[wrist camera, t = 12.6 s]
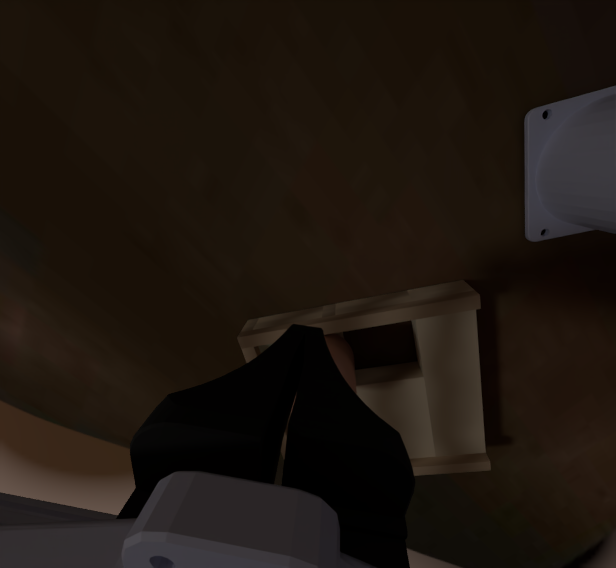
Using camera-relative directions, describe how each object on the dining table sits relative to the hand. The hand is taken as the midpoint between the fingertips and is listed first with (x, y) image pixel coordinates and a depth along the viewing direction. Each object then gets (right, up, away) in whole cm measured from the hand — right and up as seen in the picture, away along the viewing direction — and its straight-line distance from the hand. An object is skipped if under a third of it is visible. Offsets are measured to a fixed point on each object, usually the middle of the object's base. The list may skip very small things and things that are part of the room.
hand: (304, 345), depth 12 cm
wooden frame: (+5, -6, +13) cm, 15 cm away
